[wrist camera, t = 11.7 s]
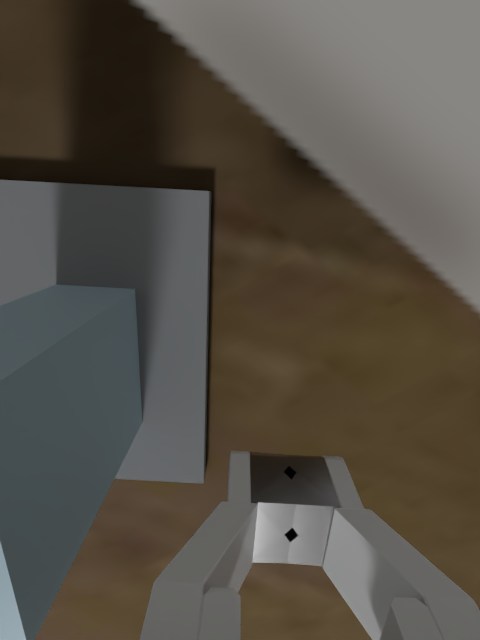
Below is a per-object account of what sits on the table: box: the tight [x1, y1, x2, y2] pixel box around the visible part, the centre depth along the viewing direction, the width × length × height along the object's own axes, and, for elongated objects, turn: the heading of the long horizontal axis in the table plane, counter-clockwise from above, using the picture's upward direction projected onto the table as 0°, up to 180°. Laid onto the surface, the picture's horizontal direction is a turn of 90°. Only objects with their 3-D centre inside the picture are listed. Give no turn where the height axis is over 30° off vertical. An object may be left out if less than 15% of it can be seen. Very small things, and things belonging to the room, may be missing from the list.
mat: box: [0, 180, 211, 484], centre depth 16 cm, size 18×15×1 cm
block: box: [0, 285, 142, 640], centre depth 11 cm, size 4×7×9 cm, turn 177°
